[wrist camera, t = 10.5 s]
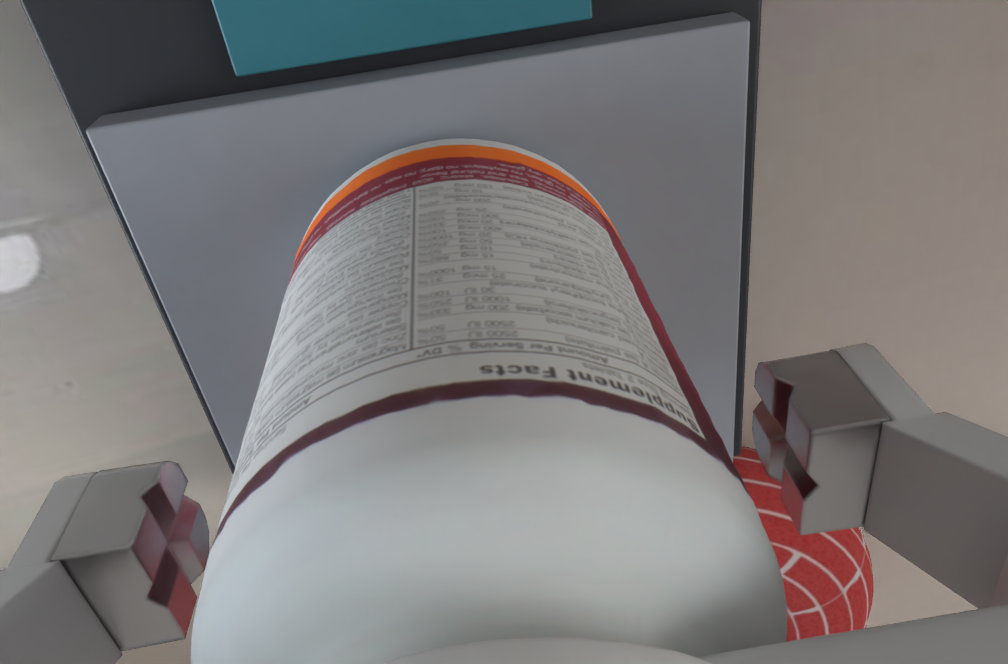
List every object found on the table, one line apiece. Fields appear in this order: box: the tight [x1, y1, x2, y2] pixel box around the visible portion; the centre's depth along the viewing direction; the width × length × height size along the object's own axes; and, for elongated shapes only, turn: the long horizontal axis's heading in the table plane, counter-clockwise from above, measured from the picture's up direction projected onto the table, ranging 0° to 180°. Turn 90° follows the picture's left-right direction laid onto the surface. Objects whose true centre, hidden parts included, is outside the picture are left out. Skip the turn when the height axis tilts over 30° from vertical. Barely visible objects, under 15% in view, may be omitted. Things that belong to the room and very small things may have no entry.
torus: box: [733, 446, 873, 642], centre depth 24 cm, size 16×14×4 cm
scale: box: [20, 0, 762, 474], centre depth 16 cm, size 13×12×3 cm
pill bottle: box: [191, 138, 787, 664], centre depth 10 cm, size 6×6×11 cm
